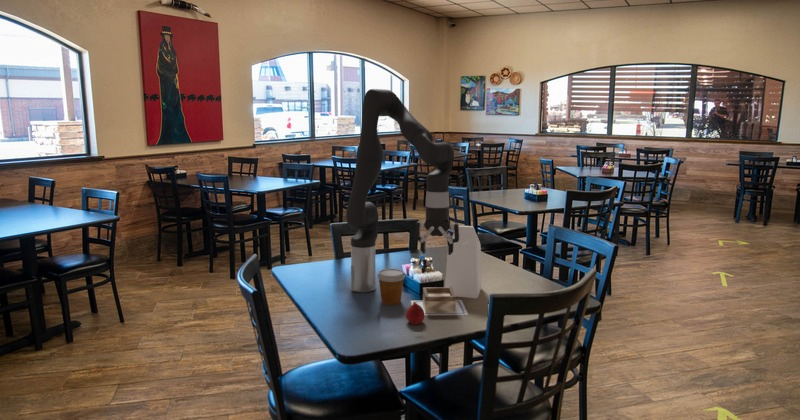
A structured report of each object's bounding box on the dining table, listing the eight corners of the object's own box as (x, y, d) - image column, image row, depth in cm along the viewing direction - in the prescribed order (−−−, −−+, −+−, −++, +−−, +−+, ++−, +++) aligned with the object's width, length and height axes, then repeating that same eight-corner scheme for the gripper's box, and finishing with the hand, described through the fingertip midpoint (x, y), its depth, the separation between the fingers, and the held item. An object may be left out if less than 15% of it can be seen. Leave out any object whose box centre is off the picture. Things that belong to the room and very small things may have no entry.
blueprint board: (413, 318, 181) (413, 315, 181) (410, 303, 195) (410, 300, 194) (468, 318, 182) (468, 314, 182) (461, 303, 195) (461, 299, 195)
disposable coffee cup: (389, 298, 200) (389, 266, 198) (410, 304, 194) (410, 271, 192) (371, 305, 193) (371, 272, 190) (392, 312, 187) (392, 278, 185)
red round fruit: (423, 322, 178) (423, 298, 176) (424, 329, 172) (425, 305, 171) (405, 322, 178) (405, 298, 176) (406, 329, 172) (406, 305, 171)
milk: (481, 291, 208) (483, 224, 204) (477, 301, 197) (479, 230, 193) (449, 288, 211) (451, 222, 207) (444, 298, 201) (445, 228, 196)
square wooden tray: (425, 312, 183) (425, 297, 182) (422, 302, 193) (422, 287, 192) (455, 312, 183) (455, 296, 182) (451, 302, 193) (451, 287, 192)
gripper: (413, 206, 176) (413, 255, 179) (458, 207, 173) (457, 257, 176) (417, 202, 183) (417, 249, 186) (460, 203, 180) (459, 252, 183)
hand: (436, 253), depth 181 cm, fingers open, 8 cm apart
